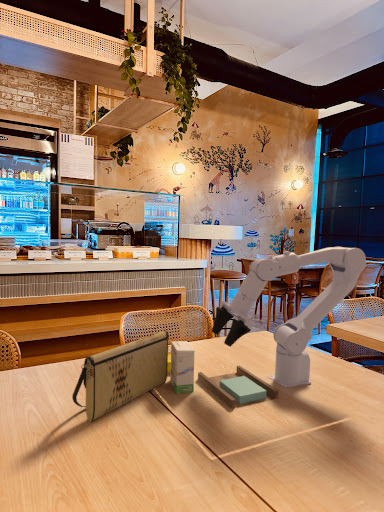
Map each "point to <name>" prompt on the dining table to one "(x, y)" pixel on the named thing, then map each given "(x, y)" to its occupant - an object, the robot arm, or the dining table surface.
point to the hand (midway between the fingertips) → (220, 338)
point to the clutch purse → (123, 374)
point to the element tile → (169, 360)
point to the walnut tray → (214, 382)
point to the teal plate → (243, 389)
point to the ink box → (182, 367)
